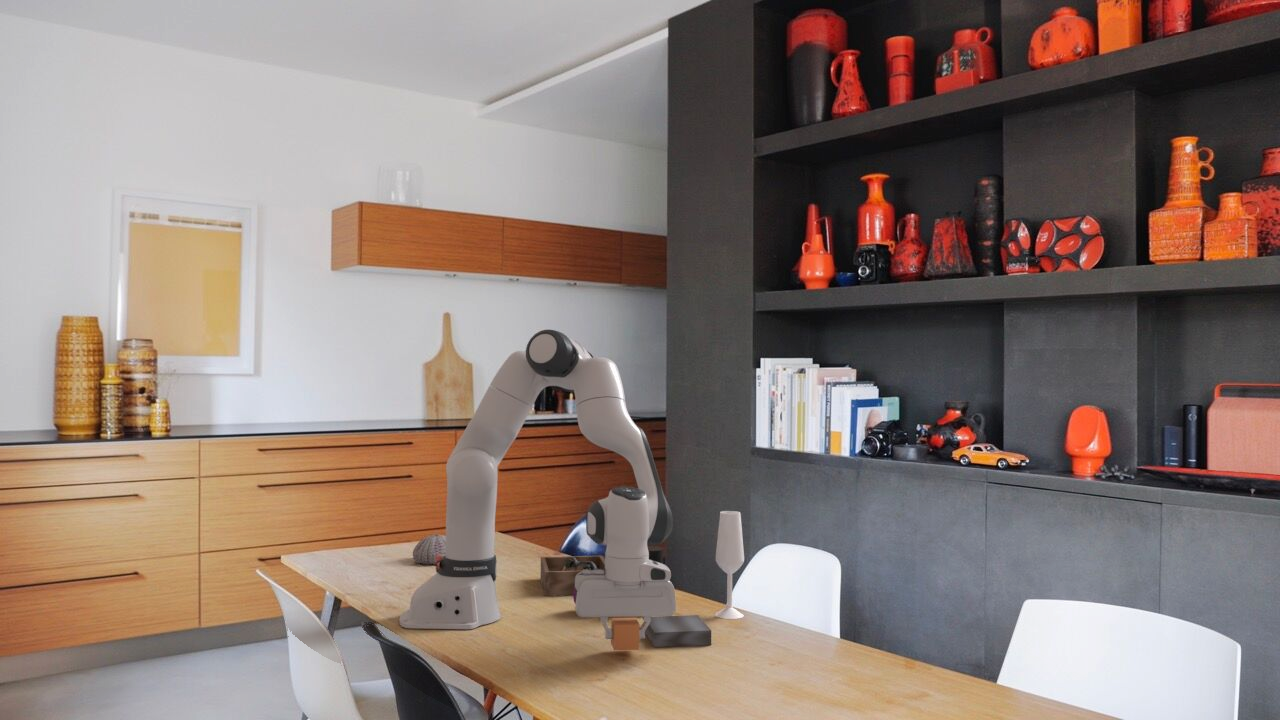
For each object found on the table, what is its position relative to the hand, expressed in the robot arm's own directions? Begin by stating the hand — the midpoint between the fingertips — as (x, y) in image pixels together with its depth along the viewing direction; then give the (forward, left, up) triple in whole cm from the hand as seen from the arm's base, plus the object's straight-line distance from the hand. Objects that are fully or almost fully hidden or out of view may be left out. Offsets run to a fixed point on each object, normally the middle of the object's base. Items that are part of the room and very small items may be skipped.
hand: (624, 638), depth 180 cm
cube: (0, 0, -2) cm, 2 cm away
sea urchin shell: (-42, +94, -4) cm, 103 cm away
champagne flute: (+29, +25, -3) cm, 38 cm away
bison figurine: (-4, +59, -4) cm, 60 cm away
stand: (+13, +9, -3) cm, 16 cm away
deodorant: (+11, +30, -3) cm, 32 cm away
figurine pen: (-4, +58, -3) cm, 59 cm away
